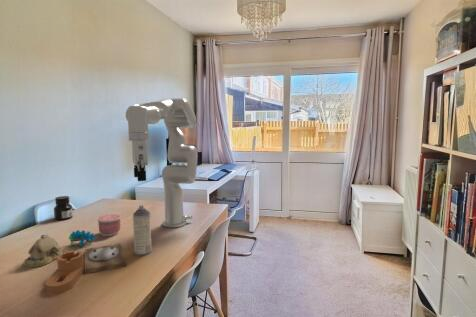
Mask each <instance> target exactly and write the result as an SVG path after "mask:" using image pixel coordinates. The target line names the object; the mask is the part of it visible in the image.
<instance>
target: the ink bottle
mask: <svg viewBox="0 0 476 317" xmlns="http://www.w3.org/2000/svg"><path fill="white" fill-rule="evenodd" d="M54 201H55V206H54V208H53V214H54V220H56V221H66V220H69V219H71V218H73V206H72V204H70V196H68V195H61V196H57V197H55V200H54Z"/></svg>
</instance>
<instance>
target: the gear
mask: <svg viewBox="0 0 476 317" xmlns="http://www.w3.org/2000/svg"><path fill="white" fill-rule="evenodd" d="M94 239H96V235H95V233H91V231H87V232H86V230H76V231H74V230H73V231H72V232H71V233H70V235H69V236H68V240H70V245H69V247H72V246H73V244H74V243H75V242H79V245H78V248H79V247H80V248H81V247H82V246H83V243H84V242H85V241H86V242H90V241H94Z"/></svg>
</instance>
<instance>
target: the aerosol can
mask: <svg viewBox="0 0 476 317" xmlns="http://www.w3.org/2000/svg"><path fill="white" fill-rule="evenodd" d="M132 223H133V224H132V225H133V226H132V227H133V245H134V246H133V247H134V248H133V250H134V255H136V256H138V257H141V256H142V257H143V256H146V255H150V254H151V253H152V229H151V228H152V227H151V226H152V224H151V213H150V211H149V210H148V209H146V208H145V207H144V205H143V204H142V205H141V204H140V205H139V206H138V208H137V209H136V210H135V211H134V213H133V214H132Z"/></svg>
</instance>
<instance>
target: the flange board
mask: <svg viewBox="0 0 476 317" xmlns="http://www.w3.org/2000/svg"><path fill="white" fill-rule="evenodd" d="M121 244H122V243H115V244H110V245H109V244H108V245H104V246H96V247H90V248H85V249H84V274H89V273H94V272H101V271H105V270H111V269H116V268H121V267H126V266H127V264H126V259H125V256H124V255H125V254H124V252H123V248H122V245H121Z"/></svg>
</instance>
